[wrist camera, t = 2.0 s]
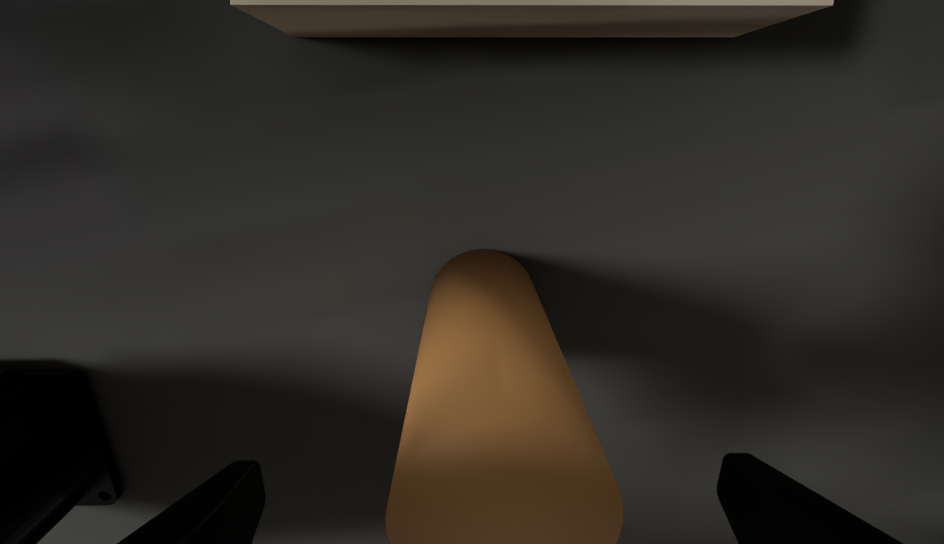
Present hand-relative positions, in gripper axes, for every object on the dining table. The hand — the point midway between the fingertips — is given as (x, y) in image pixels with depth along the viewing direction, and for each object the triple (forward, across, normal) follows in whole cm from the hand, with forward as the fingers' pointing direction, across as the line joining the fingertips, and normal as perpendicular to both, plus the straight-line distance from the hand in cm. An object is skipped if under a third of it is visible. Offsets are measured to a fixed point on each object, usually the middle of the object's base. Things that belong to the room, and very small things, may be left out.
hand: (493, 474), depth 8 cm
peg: (+9, 0, 0) cm, 9 cm away
